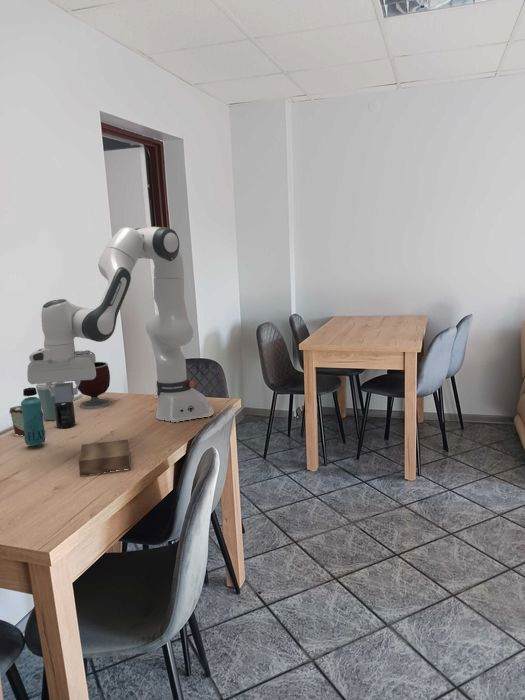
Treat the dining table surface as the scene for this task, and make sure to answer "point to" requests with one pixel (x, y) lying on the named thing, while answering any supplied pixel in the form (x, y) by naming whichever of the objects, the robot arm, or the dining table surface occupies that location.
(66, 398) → the slate cube
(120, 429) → the dining table surface
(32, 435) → the beverage bottle
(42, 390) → the disposable coffee cup
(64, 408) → the supplement bottle
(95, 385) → the mate gourd
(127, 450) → the walnut block
